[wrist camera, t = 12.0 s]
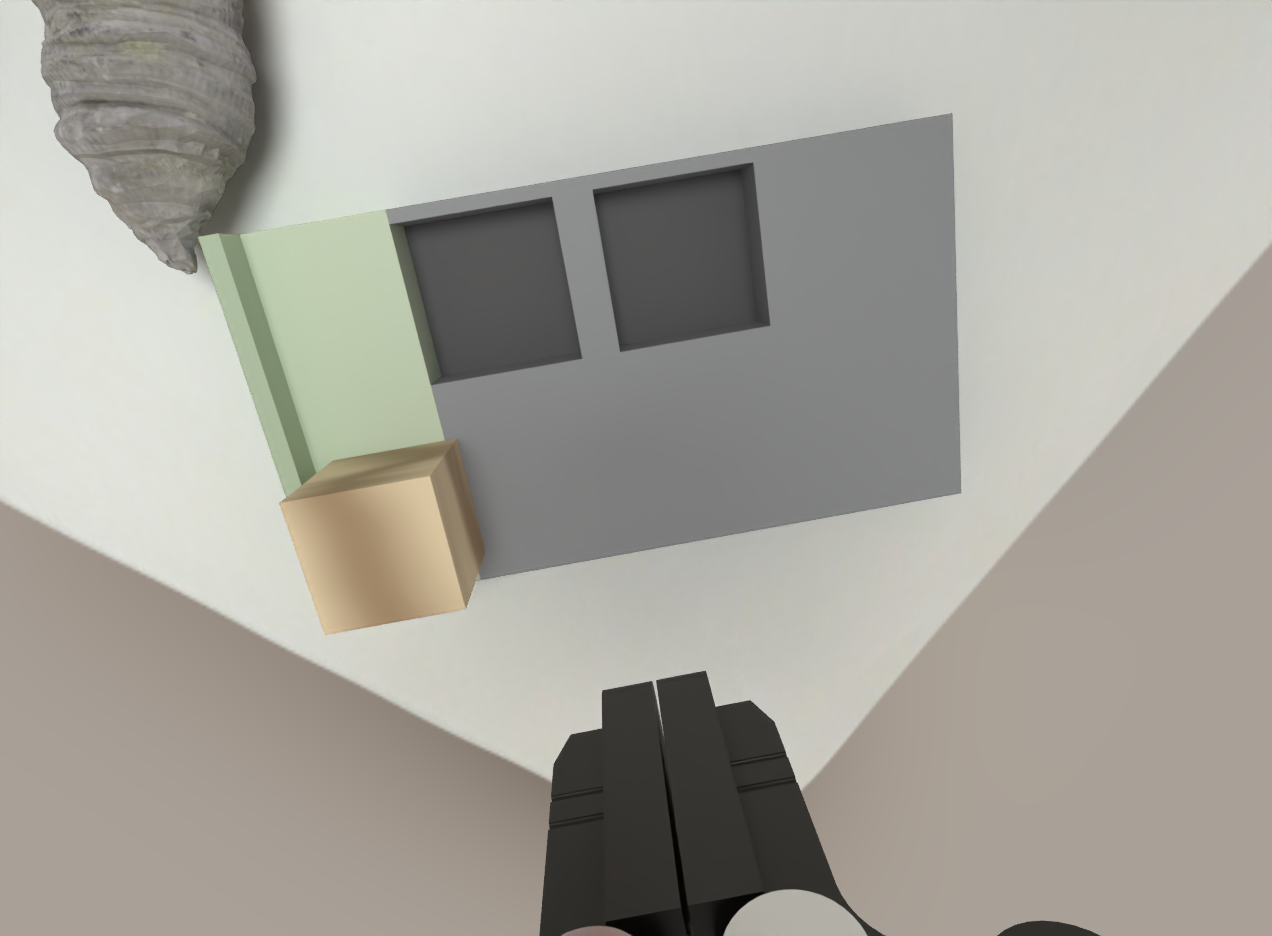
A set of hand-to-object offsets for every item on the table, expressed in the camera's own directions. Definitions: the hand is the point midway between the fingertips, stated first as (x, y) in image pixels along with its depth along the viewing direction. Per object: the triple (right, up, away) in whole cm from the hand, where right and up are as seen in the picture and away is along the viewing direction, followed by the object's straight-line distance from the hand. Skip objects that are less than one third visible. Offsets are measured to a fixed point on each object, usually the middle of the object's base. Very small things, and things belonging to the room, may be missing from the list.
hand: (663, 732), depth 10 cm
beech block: (-10, +2, +18) cm, 21 cm away
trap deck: (-1, +8, +20) cm, 21 cm away
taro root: (-17, +19, +16) cm, 30 cm away
